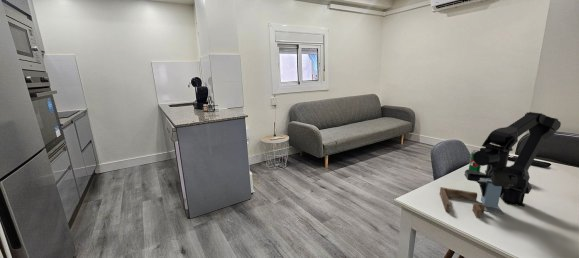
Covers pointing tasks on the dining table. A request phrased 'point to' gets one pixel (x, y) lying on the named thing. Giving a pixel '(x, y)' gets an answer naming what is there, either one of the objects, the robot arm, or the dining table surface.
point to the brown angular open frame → (462, 195)
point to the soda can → (472, 163)
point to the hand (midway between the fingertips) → (490, 197)
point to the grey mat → (493, 209)
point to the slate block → (491, 194)
